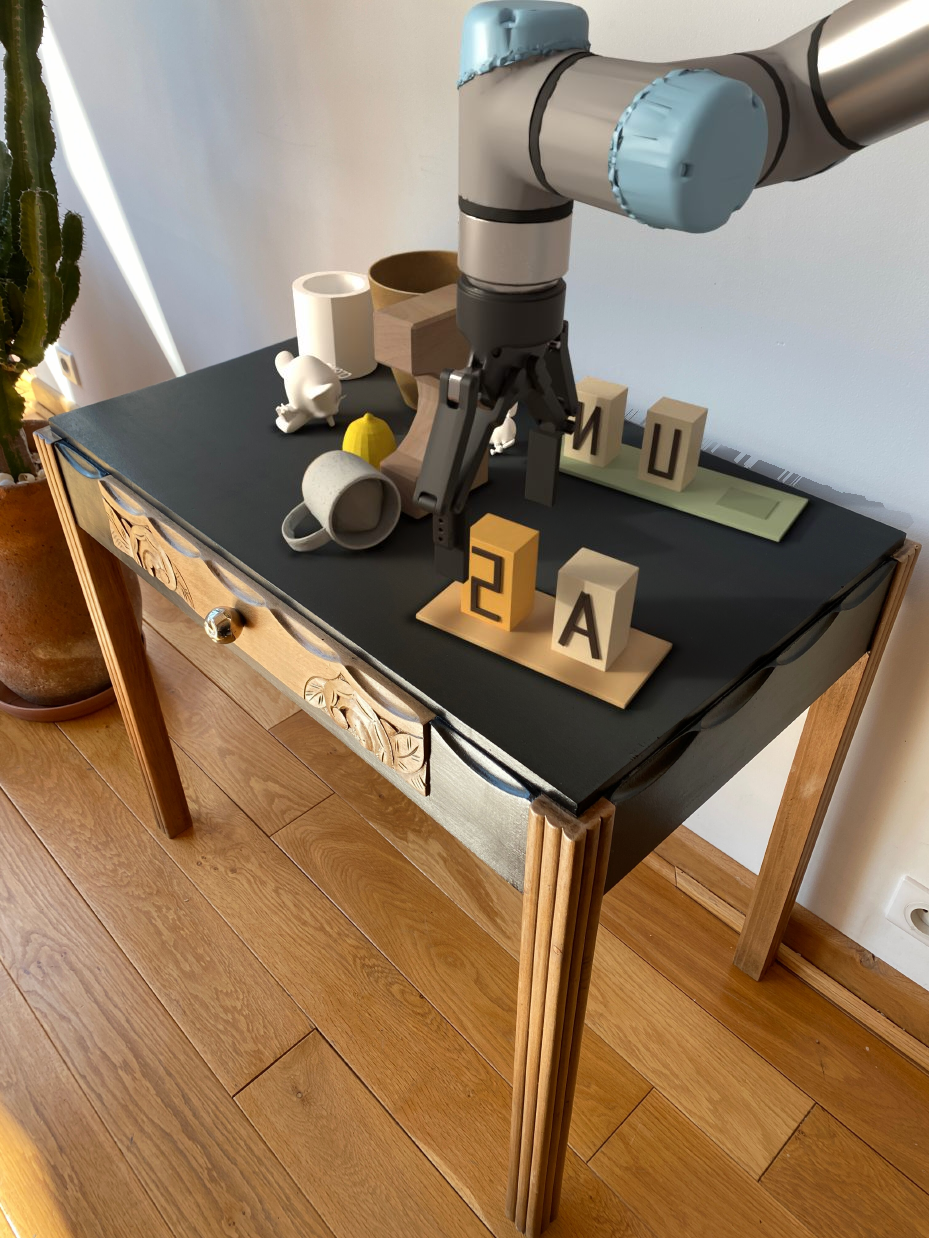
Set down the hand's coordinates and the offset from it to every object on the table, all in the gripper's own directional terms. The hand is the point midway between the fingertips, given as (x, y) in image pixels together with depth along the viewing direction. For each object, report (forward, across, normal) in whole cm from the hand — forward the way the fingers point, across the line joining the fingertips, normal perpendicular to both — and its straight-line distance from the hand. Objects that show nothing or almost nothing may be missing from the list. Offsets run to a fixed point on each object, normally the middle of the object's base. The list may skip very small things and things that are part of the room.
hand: (498, 536), depth 76 cm
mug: (+9, -35, -46) cm, 59 cm away
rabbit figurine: (+8, -28, -17) cm, 34 cm away
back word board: (+8, -30, +3) cm, 31 cm away
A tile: (+7, 0, +9) cm, 12 cm away
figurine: (+9, -19, -37) cm, 43 cm away
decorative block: (+8, -14, -16) cm, 23 cm away
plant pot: (+9, -32, -29) cm, 44 cm away
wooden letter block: (+8, -30, -6) cm, 31 cm away
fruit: (+8, -12, -23) cm, 27 cm away
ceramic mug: (+8, -2, -19) cm, 21 cm away
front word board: (+8, 0, +5) cm, 9 cm away
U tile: (+8, -30, +3) cm, 31 cm away
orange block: (+8, 0, 0) cm, 8 cm away
